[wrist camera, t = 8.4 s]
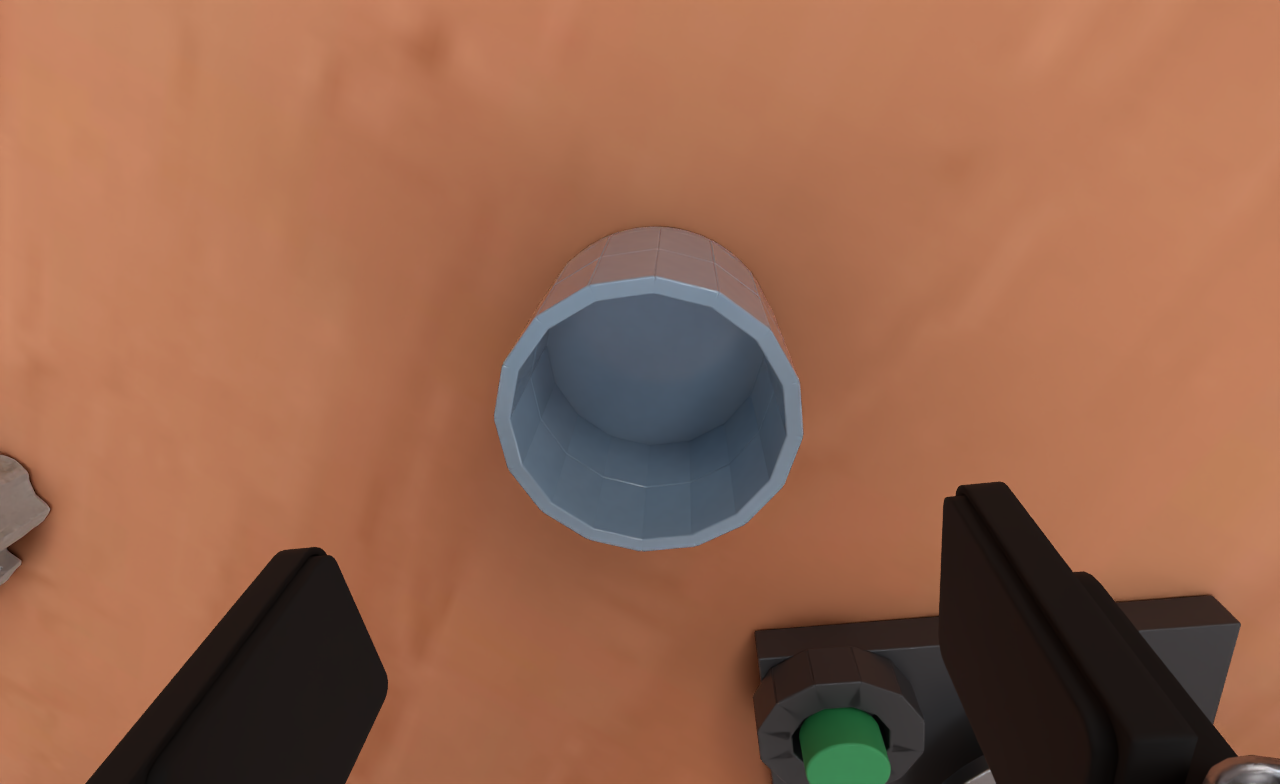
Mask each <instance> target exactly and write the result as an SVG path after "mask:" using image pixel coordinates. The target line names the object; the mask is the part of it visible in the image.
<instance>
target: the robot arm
mask: <svg viewBox="0 0 1280 784" xmlns="http://www.w3.org/2000/svg"><path fill="white" fill-rule="evenodd" d="M938 639H939V647H940V651H941V655H942V659H943V661H944V664H945V666H946V669H947V671H948V673H949V676H950V678H951V680H952V683H953V685H954V687H955V689H956V692H957V694H958V696H959V699H960V701H961V703H962V706H963V708H964V710H965V713H966V715H967V717H968V720H969V722H970V724H971V727H972V729H973V731H974V734H975V736H976V738H977V741H978V743H979V745H980V748H981V750H982V752H983V755H984V757H985V759H986V761H987V764H988V766H989V768H990V771H991V773H992V775H993V778H994V780H995V782H996V784H1280V759H1278V758H1271V757H1263V756H1255V755H1248V756H1239V757H1238V756H1237V754H1236V753H1235V752H1234V751H1233V749H1232V748H1231V747H1230V746H1229V744H1228V743H1227V742H1226V741H1225V739H1224V738H1223V737H1222V736H1221V734H1220V733H1219V732H1218V731H1217V729H1216V728H1215V727H1214V726H1213V724H1212V723H1211V722H1210V721H1209V719H1208V718H1207V717H1206V716H1205V714H1204V713H1203V712H1202V710H1201V709H1200V708H1199V707H1198V705H1197V704H1196V703H1195V702H1194V700H1193V699H1192V698H1191V697H1190V695H1189V694H1188V693H1187V692H1186V690H1185V689H1184V688H1183V687H1182V685H1181V684H1180V683H1179V682H1178V680H1177V679H1176V678H1175V677H1174V675H1173V674H1172V673H1171V672H1170V670H1169V669H1168V668H1167V666H1166V665H1165V664H1164V663H1163V661H1162V660H1161V659H1160V658H1159V656H1158V655H1157V654H1156V653H1155V651H1154V650H1153V649H1152V648H1151V646H1150V645H1149V644H1148V643H1147V641H1146V640H1145V639H1144V638H1143V636H1142V635H1141V634H1140V633H1139V631H1138V630H1137V629H1136V628H1135V626H1134V625H1133V624H1132V622H1131V621H1130V620H1129V619H1128V617H1127V616H1126V615H1125V614H1124V612H1123V611H1122V610H1121V609H1120V607H1119V606H1118V605H1117V604H1116V602H1115V601H1114V600H1113V599H1112V597H1111V596H1110V595H1109V594H1108V592H1107V591H1106V590H1105V589H1104V587H1103V586H1102V585H1101V584H1100V583H1099V582H1098V581H1097V580H1096V579H1095V578H1094V577H1093V576H1092V575H1090V574H1088V573H1086V572H1072V570H1071V569H1070V568H1069V566H1068V565H1067V564H1066V562H1065V561H1064V560H1063V558H1062V557H1061V556H1060V554H1059V553H1058V552H1057V550H1056V549H1055V548H1054V546H1053V545H1052V544H1051V543H1050V541H1049V540H1048V539H1047V537H1046V536H1045V535H1044V533H1043V532H1042V531H1041V529H1040V528H1039V527H1038V525H1037V524H1036V523H1035V521H1034V520H1033V519H1032V518H1031V516H1030V515H1029V514H1028V512H1027V511H1026V510H1025V508H1024V507H1023V506H1022V504H1021V503H1020V502H1019V500H1018V499H1017V498H1016V496H1015V495H1014V494H1013V492H1012V491H1011V490H1010V489H1009V487H1008V486H1007V485H1006V484H1005V483H1003V482H991V483H981V484H970V485H961V486H959V487H958V489H957V491H956V496H953V497H946V498H945V500H944V505H943V527H942V553H941V578H940V603H939V628H938ZM387 689H388V679H387V674H386V671H385V669H384V667H383V665H382V662H381V660H380V658H379V656H378V653H377V651H376V649H375V647H374V644H373V642H372V640H371V638H370V636H369V633H368V631H367V629H366V627H365V624H364V622H363V620H362V618H361V615H360V613H359V611H358V609H357V606H356V604H355V602H354V600H353V597H352V595H351V593H350V591H349V588H348V586H347V584H346V582H345V579H344V577H343V575H342V573H341V570H340V568H339V566H338V564H337V562H336V560H335V558H333V557H332V556H330V555H327V554H326V553H325V551H324V550H322V549H321V548H318V547H311V548H300V549H290V550H283V551H280V552H278V553H277V554H276V555H275V556H274V557H273V558H272V559H271V561H270V562H269V563H268V564H267V565H266V567H265V568H264V569H263V570H262V571H261V573H260V574H259V575H258V576H257V578H256V579H255V580H254V581H253V582H252V584H251V585H250V586H249V587H248V588H247V590H246V591H245V592H244V593H243V594H242V596H241V597H240V598H239V599H238V600H237V602H236V603H235V604H234V605H233V606H232V608H231V609H230V610H229V611H228V612H227V614H226V615H225V616H224V617H223V618H222V620H221V621H220V622H219V623H218V625H217V626H216V627H215V628H214V629H213V631H212V632H211V633H210V634H209V635H208V637H207V638H206V639H205V640H204V641H203V643H202V644H201V645H200V646H199V647H198V649H197V650H196V651H195V652H194V653H193V655H192V656H191V657H190V658H189V659H188V661H187V662H186V663H185V664H184V666H183V667H182V668H181V669H180V670H179V672H178V673H177V674H176V675H175V676H174V678H173V679H172V680H171V681H170V682H169V684H168V685H167V686H166V687H165V688H164V690H163V691H162V692H161V693H160V694H159V696H158V697H157V698H156V699H155V700H154V702H153V703H152V704H151V705H150V706H149V708H148V709H147V710H146V711H145V713H144V714H143V715H142V716H141V717H140V719H139V720H138V721H137V722H136V723H135V725H134V726H133V727H132V728H131V729H130V731H129V732H128V733H127V734H126V735H125V737H124V738H123V739H122V740H121V741H120V743H119V744H118V745H117V746H116V747H115V749H114V750H113V751H112V752H111V754H110V755H109V756H108V757H107V758H106V760H105V761H104V762H103V763H102V764H101V766H100V767H99V768H98V769H97V770H96V772H95V773H94V774H93V775H92V776H91V778H90V779H89V780H88V781H87V782H86V784H345V783H346V781H347V779H348V777H349V775H350V772H351V770H352V768H353V766H354V764H355V762H356V760H357V758H358V755H359V753H360V751H361V749H362V747H363V745H364V743H365V741H366V738H367V736H368V734H369V732H370V730H371V728H372V726H373V724H374V721H375V719H376V717H377V715H378V713H379V711H380V709H381V707H382V704H383V702H384V700H385V697H386V695H387Z"/></svg>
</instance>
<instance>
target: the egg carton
mask: <svg viewBox="0 0 1280 784" xmlns="http://www.w3.org/2000/svg"><path fill="white" fill-rule="evenodd" d="M49 511H50V508H49V506H48V505H47V504H46V503H45V502H44V501H43V500H42V499H41V498H39V497H38V496H37V495H36V494H35V492H34V490H33V488H32V486H31V483H30V481H29V474H28V472H27V471H26V470H25V469H24V468H23V467H22V465H20V464H19V463H18V462H17V461H16V460H15V459H12V458H10V457H7V456H5V455H0V585H2V584H3V583H5V582H6V581H7V580H8V579H9V577H10V576H11V575H12V574H13V572H14V571H15V570H16V568H18V567H19V566H20V565H21V560H20V559H19V558H17V557H16V556H14V555H13V554H11V553H10V552H9V551H8V550H7V547H8V546H10V545H11V544H13V543H14V542H16V541H17V540H19V539H20V538H22V537H23V536H25V535H26V534H27V533H28V532H29V531H30V530H32V529H33V528H34V527H36V526H38V525H39V524H40V523H41V522H43V521H44V519H45V517H46V516H47V515H48V514H49Z"/></svg>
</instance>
